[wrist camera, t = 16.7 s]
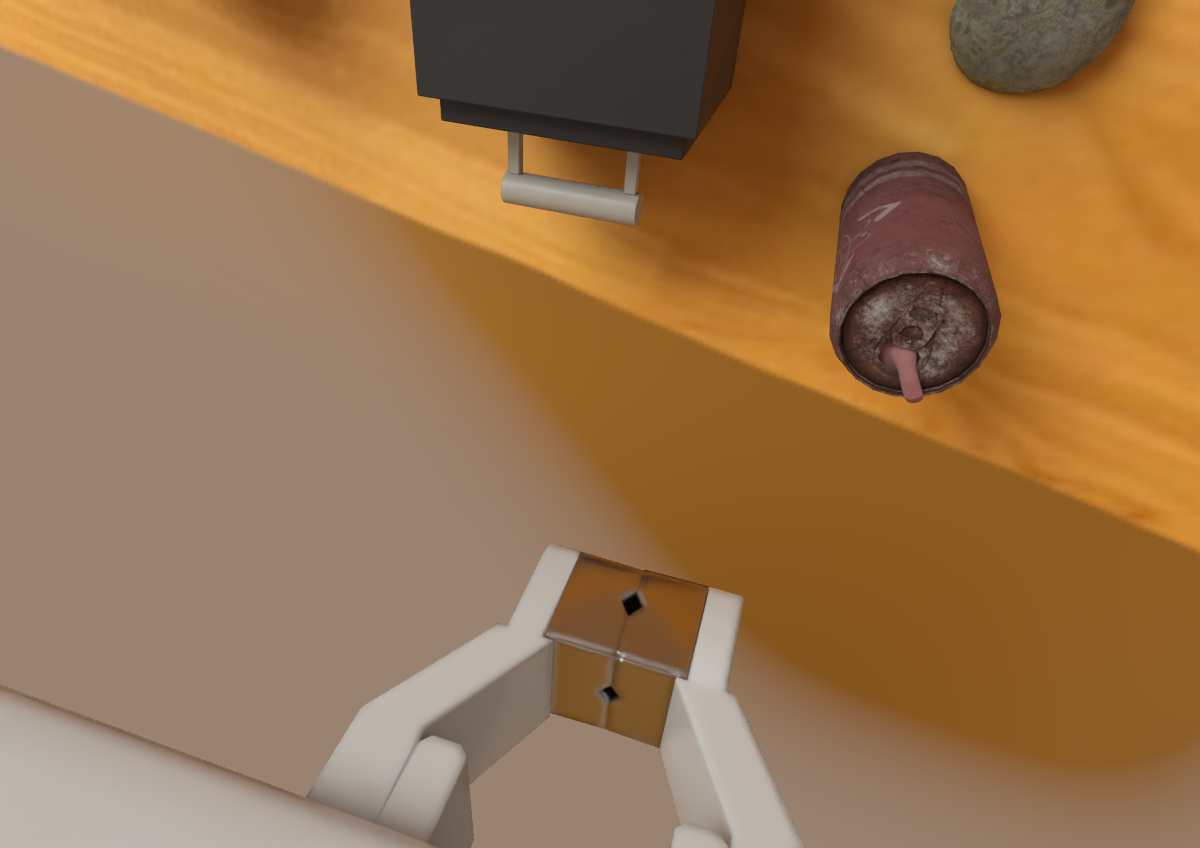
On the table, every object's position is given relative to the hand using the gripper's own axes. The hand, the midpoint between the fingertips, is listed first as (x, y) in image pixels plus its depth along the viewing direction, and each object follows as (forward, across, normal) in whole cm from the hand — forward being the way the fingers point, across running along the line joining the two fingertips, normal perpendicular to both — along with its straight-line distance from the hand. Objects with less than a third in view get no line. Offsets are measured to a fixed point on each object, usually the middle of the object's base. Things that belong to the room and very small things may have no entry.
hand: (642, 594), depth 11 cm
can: (+33, -6, +5) cm, 34 cm away
